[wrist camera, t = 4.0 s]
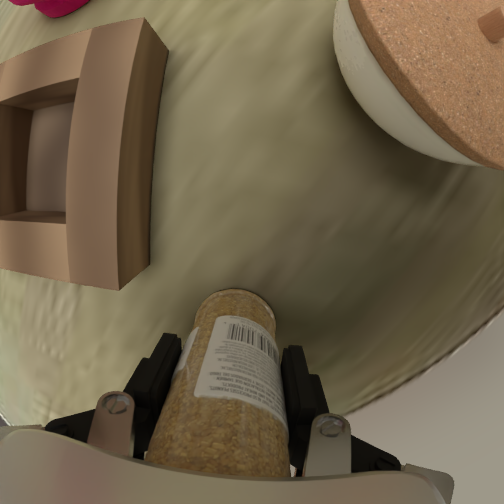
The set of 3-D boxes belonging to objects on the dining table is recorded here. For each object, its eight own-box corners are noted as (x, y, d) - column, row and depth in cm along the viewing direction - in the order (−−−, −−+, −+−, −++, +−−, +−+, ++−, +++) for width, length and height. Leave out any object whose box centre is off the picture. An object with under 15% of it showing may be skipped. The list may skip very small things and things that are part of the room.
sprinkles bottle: (180, 315, 16) (74, 539, 3) (243, 269, 15) (205, 557, 2) (231, 368, 17) (205, 585, 4) (293, 330, 16) (341, 573, 3)
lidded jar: (343, 185, 14) (462, 199, 5) (285, 10, 12) (307, -109, 2) (483, 157, 13) (594, 163, 4) (432, 12, 11) (509, -45, 2)
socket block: (168, 50, 12) (144, 17, 8) (149, 264, 15) (118, 290, 11) (19, 82, 12) (-17, 72, 8) (9, 246, 15) (-28, 261, 11)
